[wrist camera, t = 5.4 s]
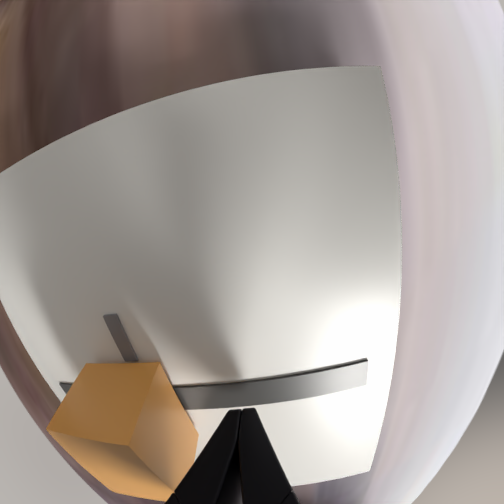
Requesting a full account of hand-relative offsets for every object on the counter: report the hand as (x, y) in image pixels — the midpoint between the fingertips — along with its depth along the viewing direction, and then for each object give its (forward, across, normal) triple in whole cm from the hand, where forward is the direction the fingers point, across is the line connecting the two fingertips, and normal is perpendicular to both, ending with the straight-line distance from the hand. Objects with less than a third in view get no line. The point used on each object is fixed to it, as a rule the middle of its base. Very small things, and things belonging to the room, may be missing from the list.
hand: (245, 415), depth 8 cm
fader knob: (+1, +4, 0) cm, 4 cm away
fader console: (+4, +2, 0) cm, 4 cm away
